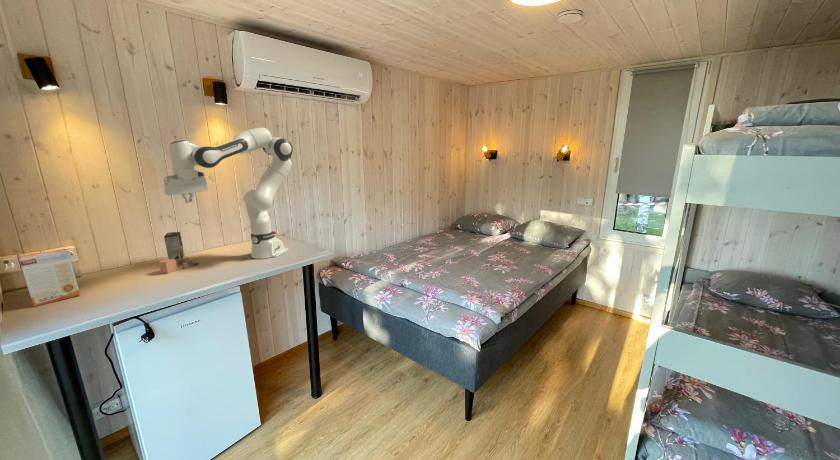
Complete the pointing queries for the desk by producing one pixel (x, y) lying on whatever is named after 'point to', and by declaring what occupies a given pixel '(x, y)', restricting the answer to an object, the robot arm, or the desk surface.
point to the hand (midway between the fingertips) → (189, 202)
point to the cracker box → (49, 276)
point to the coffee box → (174, 246)
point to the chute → (186, 263)
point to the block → (168, 266)
